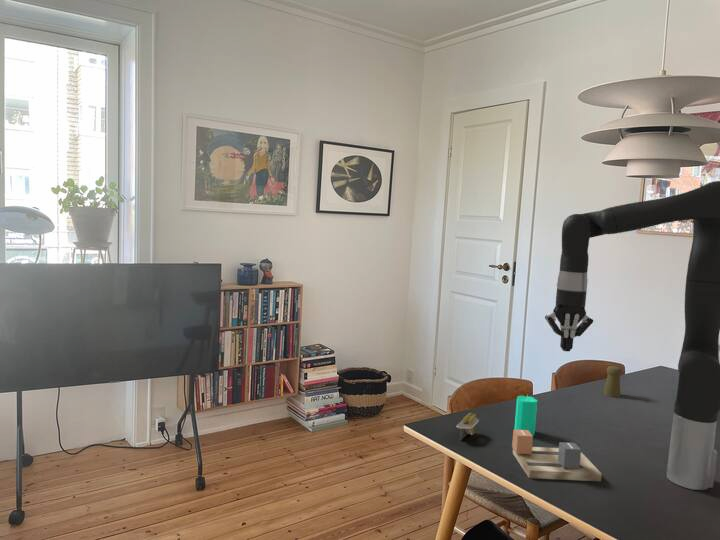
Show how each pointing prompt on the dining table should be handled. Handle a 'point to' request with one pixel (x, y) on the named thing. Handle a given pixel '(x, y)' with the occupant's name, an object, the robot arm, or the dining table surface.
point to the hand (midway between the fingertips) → (566, 350)
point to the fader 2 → (569, 455)
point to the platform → (467, 425)
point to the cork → (613, 382)
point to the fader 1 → (522, 442)
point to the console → (555, 466)
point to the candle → (526, 414)
